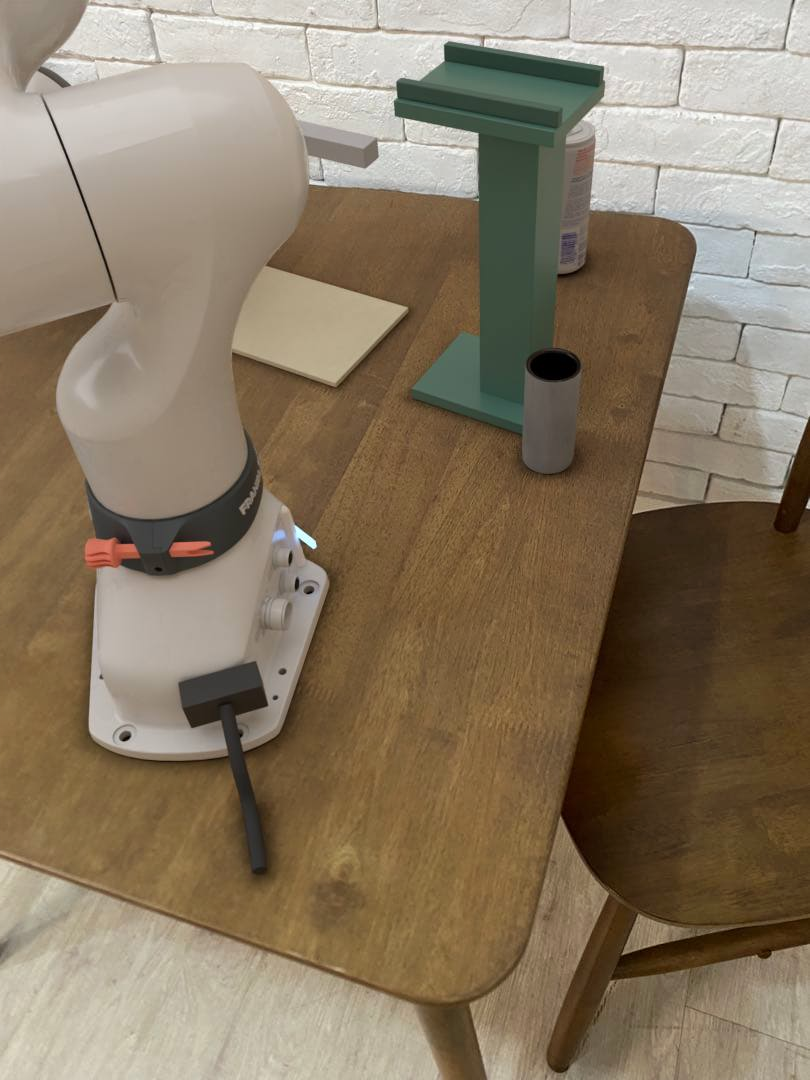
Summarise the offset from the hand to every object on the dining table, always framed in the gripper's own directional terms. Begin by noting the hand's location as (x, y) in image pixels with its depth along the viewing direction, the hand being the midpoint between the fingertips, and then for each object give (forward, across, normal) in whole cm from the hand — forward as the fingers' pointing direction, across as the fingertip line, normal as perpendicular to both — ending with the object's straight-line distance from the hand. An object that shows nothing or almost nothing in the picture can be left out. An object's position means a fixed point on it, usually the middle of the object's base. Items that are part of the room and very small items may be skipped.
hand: (211, 111), depth 85 cm
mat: (-8, 0, +20) cm, 22 cm away
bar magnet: (+5, 0, +5) cm, 7 cm away
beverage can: (+12, +22, +32) cm, 40 cm away
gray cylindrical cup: (+22, -7, +37) cm, 44 cm away
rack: (+15, 0, +33) cm, 36 cm away
